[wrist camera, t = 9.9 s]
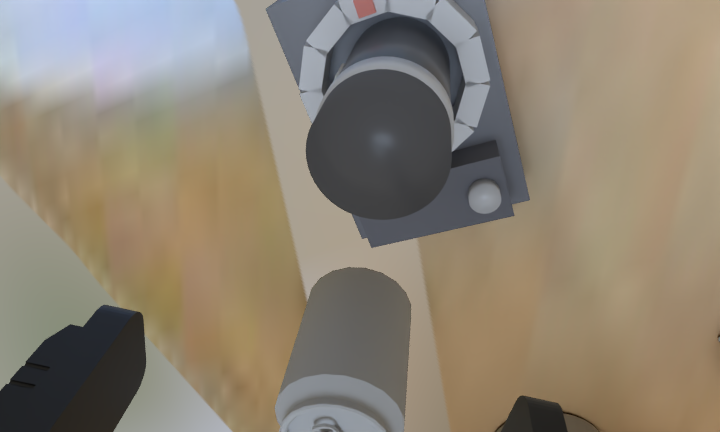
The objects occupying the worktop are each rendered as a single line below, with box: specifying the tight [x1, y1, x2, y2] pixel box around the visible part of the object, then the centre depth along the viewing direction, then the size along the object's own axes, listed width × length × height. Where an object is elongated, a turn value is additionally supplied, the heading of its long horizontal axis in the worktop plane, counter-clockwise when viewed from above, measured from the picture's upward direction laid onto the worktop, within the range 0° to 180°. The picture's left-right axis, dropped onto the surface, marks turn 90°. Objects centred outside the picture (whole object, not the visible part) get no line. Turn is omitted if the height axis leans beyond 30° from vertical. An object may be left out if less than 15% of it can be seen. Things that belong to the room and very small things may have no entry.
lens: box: [306, 17, 454, 220], centre depth 22 cm, size 5×5×10 cm
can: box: [275, 267, 411, 432], centre depth 34 cm, size 8×8×12 cm
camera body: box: [266, 0, 530, 248], centre depth 28 cm, size 14×10×6 cm
